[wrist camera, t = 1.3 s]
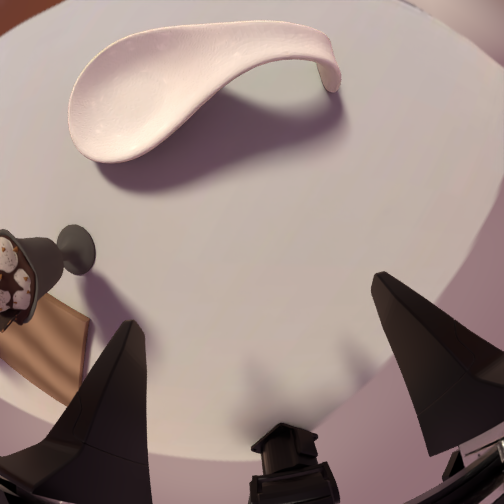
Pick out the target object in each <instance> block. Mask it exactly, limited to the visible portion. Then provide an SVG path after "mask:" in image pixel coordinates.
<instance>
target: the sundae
mask: <svg viewBox="0 0 504 504" xmlns="http://www.w3.org/2000/svg"><path fill="white" fill-rule="evenodd" d="M94 257H95V249H94V243H93V241H92V238H91V237H90V235H89V233H88V232H87V231H86V230H85V229H84V228H83V227H81V226H79V225H68V226H66V227H65V228H64V229H63V230H62V231H61V232H60V234H59V236H58V239H57V245H56V244H55V243H54V242H53V241H52V240H50V239H48V238H40V237H35V238H24V239H19V238H15V237H14V236H13V235H12V234H11V233H10V232H9V231H8V230H5V229H1V230H0V332H1V333H3V332H4V331H5V330H6V329H7V328H8V327H9V326H10V324H11V323H12V322H16V323H17V324H18V325H20V326H22V325H23V324H26V323H28V322H29V321H30V320H31V319H32V317H33V315H34V312H35V309H36V306H37V302H38V300H39V299H40V298H41V297H43V296H44V295H45V294H46V293H47V292H48V291H49V290H50V289H51V288H53V287H54V285H55V284H56V283H57V282H58V281H59V279H60V278H61V276H62V273H63V268H65V269H66V270H67V271H69V272H71V273H73V274H77V275H80V274H84V273H86V272H87V271H88V270H89V269H90V268H91V266H92V264H93V262H94Z"/></svg>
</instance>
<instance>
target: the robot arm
mask: <svg viewBox="0 0 504 504" xmlns="http://www.w3.org/2000/svg"><path fill="white" fill-rule="evenodd" d="M371 294H372V297H373V300H374V303H375V306H376V309H377V312H378V315H379V318H380V321H381V324H382V327H383V330H384V332H385V334H386V337H387V339H388V341H389V344H390V346H391V348H392V351H393V353H394V355H395V358H396V360H397V363H398V365H399V368H400V370H401V373H402V375H403V378H404V381H405V383H406V386H407V388H408V391H409V394H410V397H411V400H412V402H413V405H414V408H415V411H416V414H417V418H418V420H419V424H420V427H421V430H422V433H423V436H424V440H425V443H426V447H427V450H428V454H429V456H430V457H431V456H434V455H437V454H439V453H441V452H444V451H446V450H449V449H451V448H454V447H456V446H458V447H459V449H457V450H456V451H454V452H453V453H452V455H451V457H450V460H449V462H448V465H447V467H446V469H445V472H444V473H443V475H442V480H443V483H441V484H439V485H438V486H436V487H434V488H433V489H431V490H429V491H427V492H425V493H423V494H422V495H420V496H418V497H416V498H414V499H412V500H410V501H408V502H406V503H404V504H504V351H502V350H500V349H498V348H497V347H495V346H494V345H492V344H490V343H489V342H487V341H486V340H484V339H482V338H481V337H479V336H478V335H476V334H475V333H473V332H471V331H470V330H469V329H467V328H466V327H465V326H463V325H462V324H460V323H459V322H458V321H456V320H454V319H453V318H452V317H451V316H449V315H448V314H447V313H445V312H444V311H442V310H441V309H439V308H438V307H437V306H435V305H434V304H433V303H431V302H430V301H428V300H427V299H425V298H424V297H423V296H421V295H420V294H418V293H417V292H415V291H414V290H412V289H411V288H409V287H408V286H406V285H405V284H404V283H402V282H401V281H399V280H398V279H396V278H395V277H393V276H391V275H390V274H388V273H387V272H385V271H383V272H379V273H376V274H375V275H374V278H373V282H372V286H371ZM146 394H147V365H146V350H145V335H144V332H143V331H142V329H141V328H140V327H139V325H138V324H137V322H136V321H135V320H125V321H124V322H123V323H122V324H121V326H120V327H119V329H118V330H117V331H116V333H115V334H114V336H113V337H112V339H111V340H110V342H109V343H108V344H107V346H106V347H105V349H104V350H103V352H102V353H101V355H100V356H99V358H98V359H97V361H96V362H95V364H94V366H93V367H92V369H91V370H90V372H89V373H88V375H87V376H86V378H85V380H84V381H83V383H82V384H81V386H80V388H79V389H78V391H77V392H76V394H75V396H74V397H73V399H72V400H71V402H70V403H69V405H68V407H67V408H66V410H65V411H64V412H63V414H62V415H61V417H60V418H59V420H58V421H57V422H56V424H55V425H54V427H53V428H52V430H51V431H50V432H49V434H48V435H47V436H46V438H45V439H44V440H42V441H41V442H40V443H38V444H36V445H33V446H31V447H29V448H26V449H24V450H21V451H19V452H16V453H13V454H11V455H8V456H3V457H1V456H0V475H1V476H0V504H153V503H152V495H151V486H150V475H149V466H148V465H149V464H148V448H147V417H146ZM316 439H318V435H317V434H315V433H312V432H308V431H305V430H302V429H299V428H296V427H293V426H290V425H287V424H284V423H280V424H278V425H277V426H275V427H274V428H273V429H272V430H271V431H270V432H269V433H267V434H266V435H265V436H264V437H263V438H261V439H260V440H259V441H258V442H257V443H255V444H254V445H253V446H252V447H251V451H253V452H256V453H260V454H261V459H262V468H263V475H260V476H257V475H255V476H252V481H251V482H250V483H249V484H250V496H249V501H248V504H339V503H340V495H339V491H338V487H337V484H336V481H335V479H334V476H333V474H332V472H331V470H330V467H329V465H328V463H327V462H323V463H321V464H318V462H317V458H316V457H317V456H318V453H317V450H316V447H315V443H314V441H315V440H316Z"/></svg>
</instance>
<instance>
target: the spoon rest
mask: <svg viewBox="0 0 504 504" xmlns="http://www.w3.org/2000/svg"><path fill="white" fill-rule="evenodd" d="M290 59H299V60H308V61H313V62H316V63H317V67H318V70H319V73H320V76H321V80H322V83H323V85H324V87H325V88H326V89H327V90H328V91H330V92H336V91H337V90H338V89H339V87H340V84H341V72H340V69H339V67H338V64H337V62H336V59H335V56H334V53H333V49H332V45H331V41H330V39H329V38H328V36H327V35H325V34H324V33H323V32H321V31H319V30H316V29H314V28H311V27H307V26H304V25H300V24H295V23H289V22H281V21H240V22H228V23H212V24H196V25H183V26H172V27H164V28H157V29H152V30H147V31H144V32H139V33H135V34H132V35H129V36H127V37H124V38H122V39H120V40H118V41H116V42H114V43H112V44H111V45H109V46H108V47H106V48H105V49H103V50H102V51H101V52H100V53H98V54H97V55H96V56H95V57H94V58H93V59H92V60H91V61H90V62H89V63H88V64H87V66H86V67H85V68H84V69H83V71H82V72H81V74H80V75H79V77H78V79H77V81H76V83H75V85H74V87H73V90H72V93H71V96H70V100H69V107H68V125H69V131H70V135H71V138H72V140H73V142H74V144H75V146H76V147H77V149H78V150H79V152H80V153H81V154H83V155H84V156H85V157H87V158H88V159H90V160H93V161H96V162H100V163H122V162H126V161H130V160H133V159H135V158H138V157H140V156H142V155H144V154H146V153H147V152H149V151H151V150H152V149H154V148H155V147H156V146H158V145H159V144H161V143H162V142H163V141H164V140H166V139H167V138H168V137H169V136H170V135H172V134H173V133H174V132H175V131H176V130H177V129H178V128H179V127H180V126H182V125H183V124H184V123H185V122H186V121H187V120H188V119H189V118H190V117H191V116H192V115H193V114H194V113H195V112H196V111H197V110H198V109H199V108H200V107H201V106H202V105H203V104H205V103H206V102H207V101H208V100H209V99H210V98H211V97H212V96H213V95H214V94H216V93H217V92H218V91H219V90H220V89H222V88H223V87H224V86H226V85H227V84H228V83H230V82H231V81H232V80H234V79H235V78H237V77H238V76H240V75H242V74H243V73H245V72H247V71H249V70H251V69H253V68H255V67H257V66H260V65H263V64H266V63H269V62H273V61H279V60H290Z"/></svg>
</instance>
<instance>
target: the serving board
mask: <svg viewBox="0 0 504 504" xmlns="http://www.w3.org/2000/svg"><path fill="white" fill-rule="evenodd" d="M89 321H90V319H89V318H88V317H86V316H84V315H82V314H81V313H79V312H77V311H76V310H74V309H72V308H70V307H69V306H67V305H66V304H64V303H62V302H61V301H59V300H57V299H56V298H54V297H53V296H51V295H50V294H48V293H46V294H45V295H44V296H43V297H41V298H40V299H39V300H38V302H37V306H36V309H35V312H34V315H33V317H32V319H31V320H30V321H29V322H28V323H26V324H23V325H22V326H20V325H18V324H17V323H16V322H12V323H11V324H10V326H9V327H8V328H7V329H6V330H5V331H4V332H3V333H1V332H0V358H1V359H2V360H4V361H5V362H6V363H7V364H8V365H9V366H11V367H12V368H13V369H14V370H16V371H17V372H18V373H19V374H21V375H22V376H23V377H24V378H26V379H27V380H28V381H30V382H31V383H32V384H34V385H35V386H37V387H38V388H39V389H41V390H42V391H44V392H45V393H47V394H48V395H50V396H51V397H53V398H54V399H56V400H57V401H59V402H60V403H62V404H64V405H65V406H67V407H68V405H69V403H70V402H71V400H72V399H73V397H74V396H75V394H76V392H77V391H78V389H79V388H80V386H81V384H82V374H83V364H84V355H85V347H86V340H87V333H88V327H89Z"/></svg>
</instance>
